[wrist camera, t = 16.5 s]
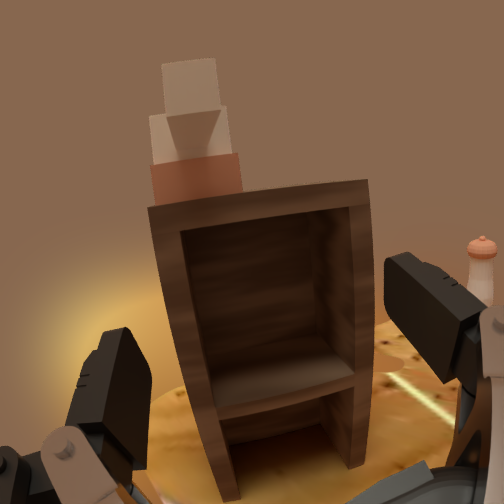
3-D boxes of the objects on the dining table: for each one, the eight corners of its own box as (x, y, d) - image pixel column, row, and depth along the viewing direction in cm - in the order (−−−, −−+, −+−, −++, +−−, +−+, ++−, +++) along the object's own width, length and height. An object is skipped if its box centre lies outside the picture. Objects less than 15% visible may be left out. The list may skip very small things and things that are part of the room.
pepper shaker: (474, 314, 61) (479, 231, 57) (496, 324, 54) (504, 236, 50) (455, 323, 59) (459, 236, 55) (478, 334, 52) (486, 241, 48)
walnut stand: (364, 463, 31) (367, 179, 25) (223, 502, 28) (147, 207, 22) (328, 411, 43) (313, 182, 36) (212, 438, 40) (161, 203, 33)
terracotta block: (243, 192, 24) (237, 152, 23) (155, 205, 23) (150, 165, 22) (231, 193, 31) (226, 162, 30) (163, 203, 30) (158, 172, 29)
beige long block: (264, 125, 14) (253, 46, 13) (127, 144, 13) (121, 62, 12) (221, 165, 33) (216, 128, 32) (163, 173, 32) (159, 136, 31)
